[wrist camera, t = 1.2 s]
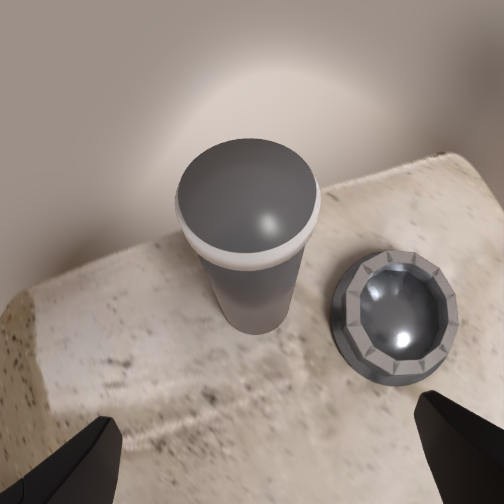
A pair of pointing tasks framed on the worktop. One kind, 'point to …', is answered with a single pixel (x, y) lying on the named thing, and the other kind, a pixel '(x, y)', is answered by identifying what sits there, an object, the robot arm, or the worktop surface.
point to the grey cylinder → (249, 226)
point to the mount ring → (394, 317)
